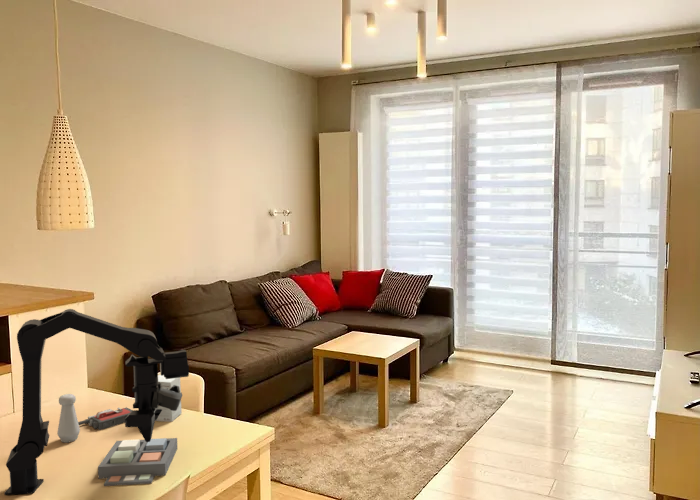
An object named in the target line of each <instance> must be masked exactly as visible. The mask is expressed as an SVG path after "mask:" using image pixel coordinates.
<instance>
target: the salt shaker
mask: <svg viewBox="0 0 700 500" xmlns="http://www.w3.org/2000/svg"><path fill="white" fill-rule="evenodd" d="M76 401H77V400H76V395H75V394H71V393H66V394H63V395H60V396H59V397H58V404H59V405H60V406H61V408H60V414H59V421H58V426H57V431H56V432H57V436H58V438H59V439H60V441H61V443H68V444H69V443H71V442H72V443H73V442H76V440H77V439H78V438H79V435H80V431H81V428H80V425H79V424H78V422H79V419H78V416H77V412H76V408H75V402H76Z"/></svg>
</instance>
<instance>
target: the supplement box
mask: <svg viewBox="0 0 700 500" xmlns="http://www.w3.org/2000/svg"><path fill="white" fill-rule="evenodd" d="M158 382H160V383H161V387H162V388H163V389H167V388H168V390H169V389H170V388H171V387H172V386H173V385H176V386H179V388H180V393H182V391H181V390H182V389H181V387H182V386H181V378H172V379H165V377H164V375H163V376H161V374H158ZM156 409H162V411H161V413H160V414H159V416H158V418H157V420H156V421H155V422H166V423H167V422H173V421H174V420H176V419H177V418H178V417H180V416H181V415H182V400H181V401H180V404H179V407H178V408H177V410H176V411H172V410H170V409H168V408H165V407H162V406H159V405H158V408H156Z"/></svg>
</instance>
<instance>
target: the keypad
mask: <svg viewBox="0 0 700 500" xmlns="http://www.w3.org/2000/svg"><path fill="white" fill-rule="evenodd" d="M122 441H123V440H116V441H115V442H114V444H113V445H112V446H111V448H110V449H109V450H108V452H107V454H106V455H105V457H103V459H102V461H101V462H100V463H99V464H98V466H97V473H98V474H97V476H98V480H102V479H105V481H104V483H103V486H104V487H109V486H126V485H128V486H131V485H146V484H147V485H149V484H152V483H153V481H154V479H155V477H157V476H167V473H168V471H169V469H170V466H171V464H172V462H173V459H174V457H175V455H176V452H177V450H178V438H177V437H175V438H174V437H170V438H169V437H168V438H167V446H166V448H165V450H148V451H146V445H147V443H148V442H146V441H145V439H140V448H139V449H138V451H133V459H132V461H131V463H115V464H110V458H111V457H112V455H113V454H114V452H115V451H118V447H119V445H120V444H121V442H122ZM157 452H161V461H155V462H139V460H140V459H141V457H142V455H143V453H157Z"/></svg>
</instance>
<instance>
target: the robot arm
mask: <svg viewBox="0 0 700 500" xmlns="http://www.w3.org/2000/svg"><path fill="white" fill-rule="evenodd" d="M68 329H72V330H74V331H75V330H76V331H78V332H81V333H85V334H87V335H91V336H93V337H97V338H100V339H102V340H106V341H109V342H112V343H116V344H117V345H119V346H121V347H123V348H124V349H126V350H127V351H128V352H131V353H133V354H130V357H129V358H127V359H126V360H125V366H126V367H133V385H134V386H133V387H132V389H131V391H132V393H134V402H133V404H132V409H131V410H132V411H131V412H130V413H129V415H128V416H127V417H126V418H125V423H124V426H125V428H137V429H138V430H139V433H140V434H141V436H142V438H143V440H145V441H146V442H150V441H151V439H153V438H152V437H153V433H154V427H155V423H156V422H157V421H156V420H157V418H158V416H159V414H160V413H161V411H162V409H156V408H158V405H159V406H162V407H165V408H168V409H170V410H172V411H176V410H177V408H178V407H179V404H180V401H181V402H182V397H183V392H181V393H180V388H179V386H176V385H173V386H172V387H171V388H170V389H169V390H168V388H167V389H163V388H162V387H161V383H160V382H158V375H159V373H160V375H161V376H163V375H164V377H165V379H172V378H180V379H181V378H188V377H189V375H190V367H189V365H190V364H189V362H188V361H189V360H188V353H187V351H186V349H183V350H178V351H177V350H176V351H169V352H165V351H164V350H163V347H161V346H159V344H158V340H157V338H156V335H155V334H154V332H153V331H151V330H148V329H144V328H139V327H125V326H121V325H118V324H114V323H112V322H109V321H106V320H103V319H99V318H96V317H94V316H90V315H88V314H84V313H82V312H78V311H77V310H76V309H73V308H68V309H67V308H66V309H64V310H63V311H61V312H59V313H56V314H53V315H49V316H46V317H43V318H41V319H37V318H36V319H29V320H27V321H25V322H24V323H23V324H22V325H21V326H20V328H19V330H18V332H17V333H16V340H17V345H18V352H19V353H20V354H19V355H20V356H21V361H22V419H21V420H22V422H21V426H20V429H19V433H18V438H17V442H16V445H15V446H14V447H13V448H11V450H10V452H9V455H8V458H7V461H6V462H5V463H6V464H5V466H6V468H7V470H8V471H9V482H10V483H9V484H10V486H9V487H8V488H7V489H5V491H4V496H5V495H7V496H9V495H25V494H27V495H29V494H33V493H35V492H36V490H38V488H39V487H40V486H41V485H42V484H43V483H44V481H45V480H44V478H38V463H37V461H38V460H37V459H38V458H39V457H40V456H41V455H42V454H43V453H44V449H45V447H47V446H48V444H49V443H48V442H49V438H50V434H49V424H50V420H46V421H44V420H43V418H42V417H43V416H42V356H43V354H44V349H45V345H46V340H48V339H50V338H52V337H54V336H56V335H58V334H60V333H61V332H62V333H63V332H64V331H65V330H68ZM135 355H136V356H135ZM137 356H138V357H137ZM158 364H159V366H158ZM158 369H159V370H160V371H159V370H158ZM133 409H134V410H133Z"/></svg>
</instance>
